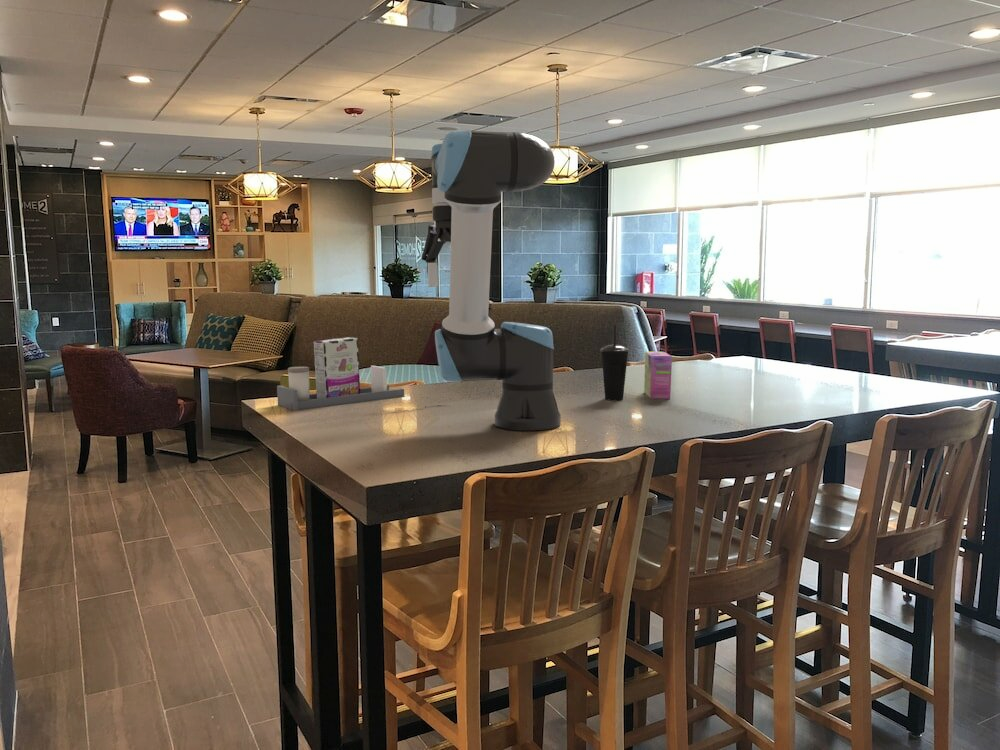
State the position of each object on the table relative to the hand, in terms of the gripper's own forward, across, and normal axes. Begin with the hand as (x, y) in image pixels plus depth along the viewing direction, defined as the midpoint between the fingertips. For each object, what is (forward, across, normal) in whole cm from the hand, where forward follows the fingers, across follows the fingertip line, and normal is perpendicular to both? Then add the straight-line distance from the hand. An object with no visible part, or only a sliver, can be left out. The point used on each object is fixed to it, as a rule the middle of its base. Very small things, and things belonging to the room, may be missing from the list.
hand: (448, 287), depth 210 cm
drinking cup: (+31, -28, -34) cm, 54 cm away
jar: (+29, +15, +36) cm, 49 cm away
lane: (+30, +15, +24) cm, 42 cm away
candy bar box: (+30, +15, +26) cm, 42 cm away
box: (+31, -33, -47) cm, 65 cm away
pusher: (+29, +14, +12) cm, 35 cm away
